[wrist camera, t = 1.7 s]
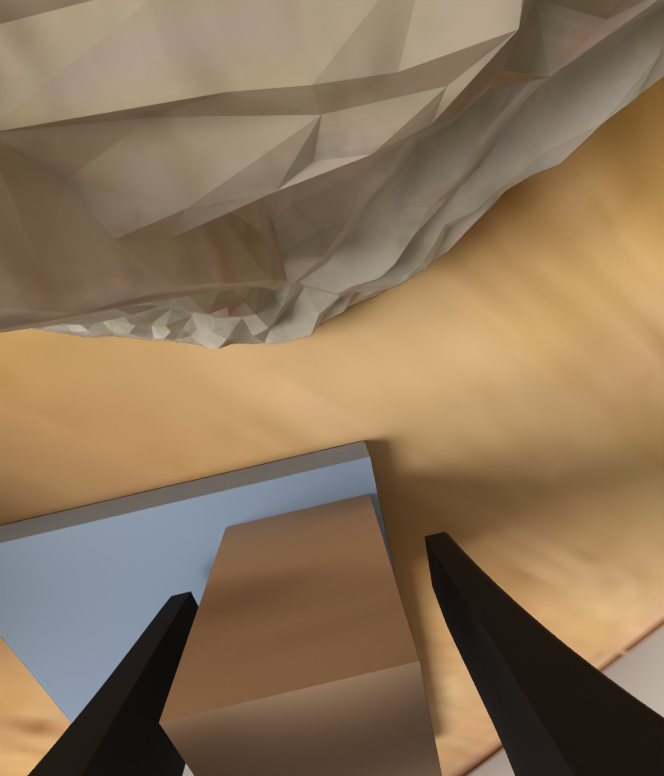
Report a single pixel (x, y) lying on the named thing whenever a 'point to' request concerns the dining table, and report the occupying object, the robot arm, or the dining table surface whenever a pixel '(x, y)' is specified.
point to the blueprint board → (142, 561)
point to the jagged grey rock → (278, 148)
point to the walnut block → (302, 656)
